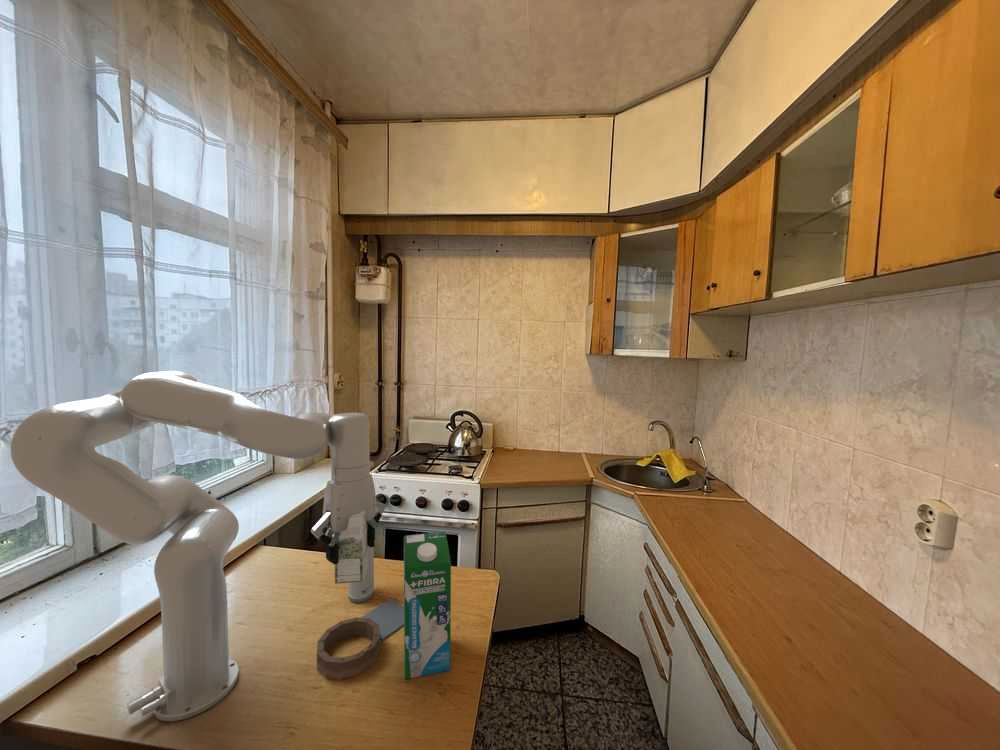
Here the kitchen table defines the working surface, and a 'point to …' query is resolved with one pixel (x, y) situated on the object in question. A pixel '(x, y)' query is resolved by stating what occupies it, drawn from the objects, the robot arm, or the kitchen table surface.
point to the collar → (353, 663)
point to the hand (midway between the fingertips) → (351, 552)
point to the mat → (387, 617)
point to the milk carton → (427, 604)
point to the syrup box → (352, 551)
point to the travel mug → (364, 582)
